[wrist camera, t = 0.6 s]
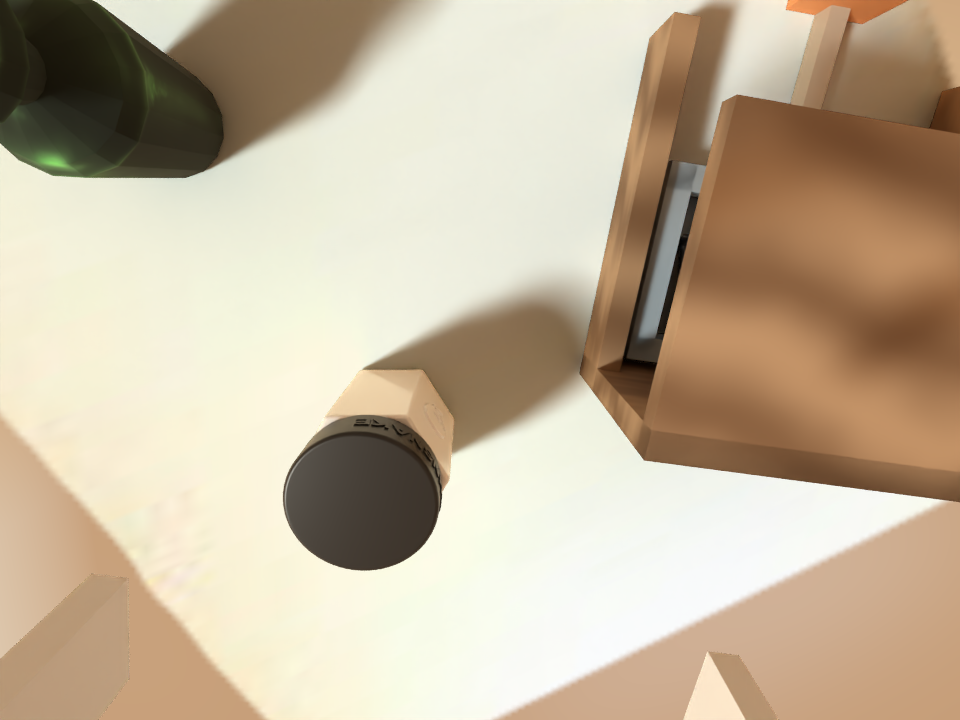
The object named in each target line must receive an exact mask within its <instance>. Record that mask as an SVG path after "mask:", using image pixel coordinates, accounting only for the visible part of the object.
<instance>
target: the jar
mask: <svg viewBox="0 0 960 720" xmlns="http://www.w3.org/2000/svg"><path fill="white" fill-rule="evenodd" d="M453 430H454V418H453V416H452V415H451V413H450V412H449V410H448V409H447V407H446V405H445V404H444V402H443V401H442V399H441V398H440V396H439V394H438V393H437V391H436V390H435V388H434V387H433V385H432V383H431V382H430V380H429V379H428V377H427V375H426V374H425V372H424V371H423V370H360V371H359V372H358V373H357V375H356V376H355V377H354V379H353V380H352V381H351V383H350V384H349V385H348V387H347V388H346V389H345V391H344V392H343V393H342V394H341V396H340V397H339V398H338V400H337V401H336V402H335V404H334V405H333V406H332V408H331V409H330V410H329V412H328V413H327V414H326V416H325V417H324V419H323V421H322V422H321V424H320V426H319V428H318V430H317V432H316V434H315V435H314V436H313V438H312V439H311V440H310V441H309V442H308V444H307V445H306V447H305V448H304V449H303V451H302V452H301V453H300V455H299V456H298V457H297V459H296V460H295V461H294V463H293V464H292V466H291V468H290V470H289V472H288V474H287V477H286V480H285V484H284V490H283V506H284V511H285V515H286V518H287V521H288V523H289V526H290V528H291V529H292V531H293V533H294V534H295V536H296V537H297V539H298V540H299V541H300V542H301V543H302V545H303V546H305V547H306V548H307V549H308V550H309V551H310V552H311V553H313V554H314V555H315V556H317V557H318V558H320V559H322V560H324V561H326V562H328V563H330V564H332V565H335V566H338V567H342V568H346V569H351V570H377V569H383V568H387V567H390V566H393V565H396V564H398V563H400V562H402V561H404V560H406V559H408V558H409V557H411V556H412V555H413V554H415V553H416V552H417V551H418V550H419V549H420V548H421V547H422V546H423V545H424V544H425V543H426V541H427V540H428V539H429V537H430V535H431V534H432V532H433V530H434V527H435V525H436V522H437V518H438V514H439V511H440V508H441V501H442V491H443V490H444V488H445V486H446V485H447V483H448V481H449V479H450V468H451V455H452V442H453Z"/></svg>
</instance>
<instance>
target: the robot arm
mask: <svg viewBox="0 0 960 720" xmlns="http://www.w3.org/2000/svg"><path fill="white" fill-rule="evenodd" d="M128 597H129V595H128V578H123V577H114V576H106V575H99V574H91V575H90V576H89V577H88V578H87V579H85V580H84V582H82V583H81V584H80V585H79V586H78V587H77V588H76V589H75V590H74V591H73V592H71V594H69V595H68V596H67V597H66V598H65V599H64V600H63V601H62V602H61V603H60V604H59V605H58V606H56V607H55V608H54V609H53V610H52V611H51V612H50V613H49V614H48V615H47V616H46V617H45V618H44V619H43V620H42V621H40V622H39V623H38V624H37V625H36V626H35V627H34V628H33V629H32V630H31V631H30V632H29V633H27V635H25V637H23V638H22V639H21V640H20V641H19V642H18V643H17V644H16V645H15V646H14V647H12V648H11V649H10V650H9V651H8V652H7V653H6V654H5V655H4V656H3V657H2V658H1V659H0V720H99V719H100V718H101V716H102V715H103V714H104V712H105V711H106V710H107V708H108V707H109V705H110V704H111V703H112V702H113V700H114V699H115V697H116V696H117V695H118V693H119V692H120V691H121V689H122V688H123V687H124V685H125V684H126V683H127V681H128V680H129V677H130V675H129V598H128ZM684 720H779V719H778V717H777V716H776V714H775V713H774V711H773V710H772V708H771V706H770V704H769V703H768V701H767V700H766V698H765V696H764V695H763V693H762V692H761V690H760V688H759V687H758V685H757V684H756V682H755V680H754V679H753V677H752V676H751V674H750V672H749V671H748V669H747V667H746V666H745V664H744V663H743V661H742V659H741V658H740V656H739V655H732V654H723V653H716V652H707V655H706V658H705V661H704V664H703V666H702V669H701V672H700V675H699V678H698V680H697V683H696V686H695V689H694V692H693V694H692V697H691V700H690V703H689V706H688V708H687V711H686V714H685V717H684Z"/></svg>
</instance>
